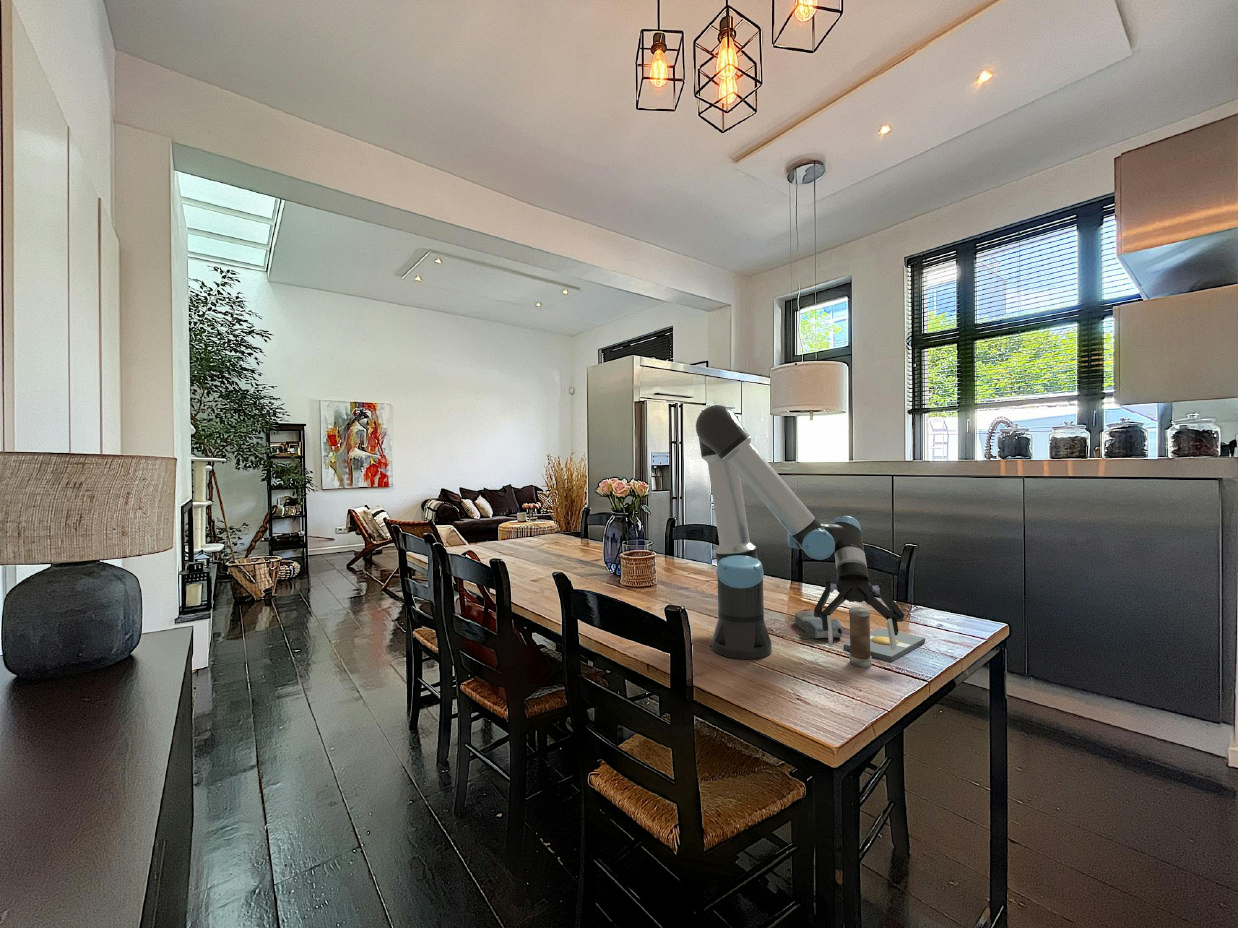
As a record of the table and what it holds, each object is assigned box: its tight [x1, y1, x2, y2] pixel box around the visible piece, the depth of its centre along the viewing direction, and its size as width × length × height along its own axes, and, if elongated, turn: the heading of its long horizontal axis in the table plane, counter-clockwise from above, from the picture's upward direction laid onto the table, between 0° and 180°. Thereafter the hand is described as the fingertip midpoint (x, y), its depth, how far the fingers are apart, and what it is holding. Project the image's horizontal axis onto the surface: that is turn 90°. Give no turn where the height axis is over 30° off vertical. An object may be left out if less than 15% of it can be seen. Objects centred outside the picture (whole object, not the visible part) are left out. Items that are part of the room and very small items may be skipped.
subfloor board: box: [843, 627, 926, 662], centre depth 140 cm, size 20×12×1 cm, turn 130°
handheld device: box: [794, 610, 844, 639], centre depth 155 cm, size 10×20×5 cm, turn 4°
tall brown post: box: [848, 606, 873, 669], centre depth 128 cm, size 5×5×13 cm
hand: (861, 645), depth 126 cm, fingers open, 13 cm apart
